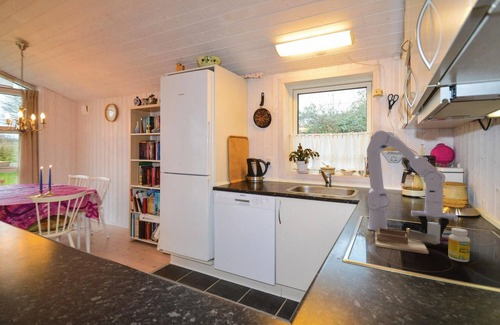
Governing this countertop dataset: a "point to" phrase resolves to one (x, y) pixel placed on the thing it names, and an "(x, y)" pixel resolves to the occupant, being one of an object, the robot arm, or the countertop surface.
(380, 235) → the cradle board
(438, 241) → the link block
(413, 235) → the gate
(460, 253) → the supplement bottle
